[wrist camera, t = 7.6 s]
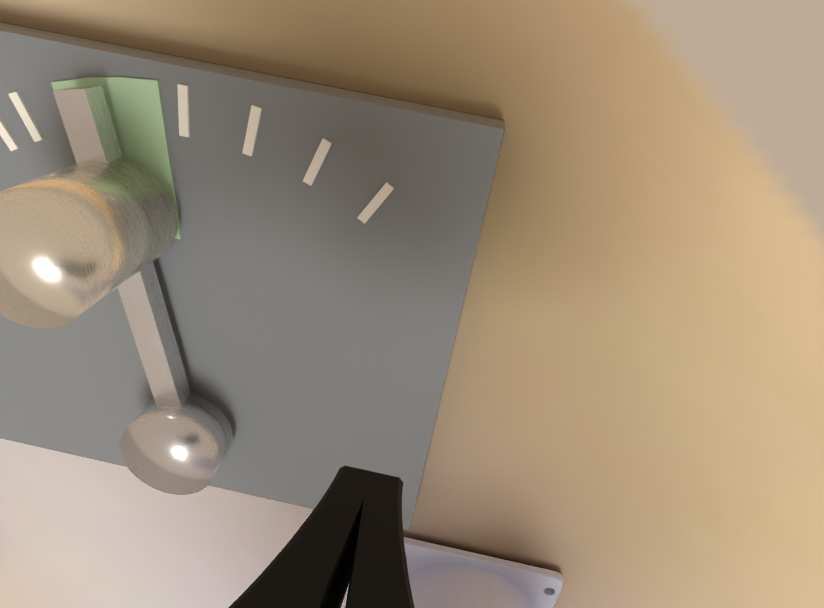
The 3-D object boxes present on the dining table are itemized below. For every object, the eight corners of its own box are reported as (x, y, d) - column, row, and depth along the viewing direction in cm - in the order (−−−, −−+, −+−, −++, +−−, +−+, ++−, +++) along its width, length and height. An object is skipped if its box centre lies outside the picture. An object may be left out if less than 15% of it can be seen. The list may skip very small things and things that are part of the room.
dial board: (413, 503, 25) (408, 532, 24) (14, 414, 26) (-13, 437, 25) (503, 120, 17) (504, 130, 16) (-79, 6, 18) (-127, 6, 17)
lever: (240, 463, 23) (186, 560, 19) (159, 459, 24) (89, 552, 19) (143, 83, 16) (26, 108, 12) (31, 88, 17) (-115, 114, 13)
